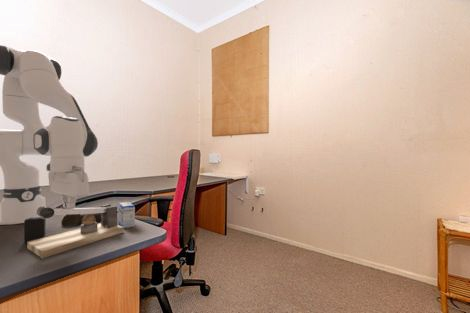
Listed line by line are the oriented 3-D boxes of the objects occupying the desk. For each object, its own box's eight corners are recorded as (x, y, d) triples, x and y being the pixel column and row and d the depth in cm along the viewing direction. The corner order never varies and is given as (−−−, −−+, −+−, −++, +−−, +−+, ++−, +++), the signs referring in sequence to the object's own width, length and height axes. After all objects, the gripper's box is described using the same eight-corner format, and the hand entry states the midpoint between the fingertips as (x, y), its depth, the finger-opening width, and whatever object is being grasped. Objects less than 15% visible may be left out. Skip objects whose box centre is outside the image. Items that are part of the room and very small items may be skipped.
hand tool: (115, 218, 102) (114, 207, 102) (115, 220, 99) (115, 209, 99) (63, 224, 93) (62, 213, 93) (61, 227, 90) (60, 216, 89)
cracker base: (27, 248, 70) (26, 217, 70) (106, 226, 90) (105, 202, 90) (42, 258, 64) (41, 224, 63) (123, 232, 84) (123, 206, 83)
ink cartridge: (45, 239, 77) (45, 216, 77) (43, 241, 75) (44, 217, 75) (26, 241, 75) (26, 217, 75) (24, 244, 73) (24, 219, 73)
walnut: (80, 226, 79) (79, 214, 79) (92, 223, 82) (92, 212, 82) (85, 228, 76) (85, 216, 76) (98, 225, 80) (97, 214, 80)
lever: (35, 216, 69) (37, 206, 69) (107, 212, 87) (109, 204, 87) (41, 218, 66) (43, 208, 67) (114, 214, 84) (115, 206, 85)
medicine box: (118, 223, 94) (117, 202, 94) (129, 221, 97) (129, 201, 96) (123, 228, 88) (122, 206, 87) (135, 226, 91) (134, 204, 90)
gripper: (94, 166, 70) (95, 210, 71) (65, 164, 82) (66, 202, 82) (71, 167, 65) (72, 215, 65) (44, 165, 76) (45, 206, 76)
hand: (69, 208), depth 74 cm, fingers closed
